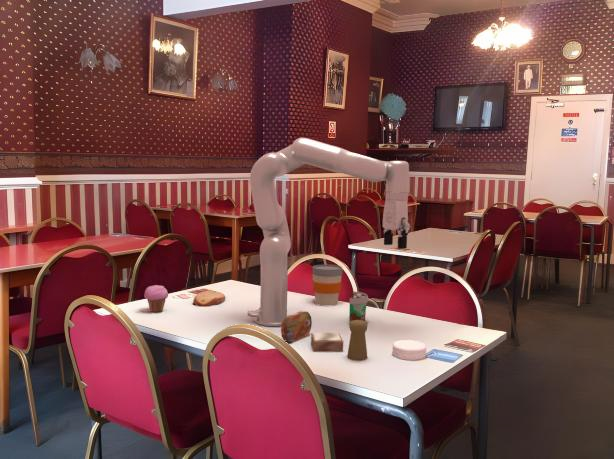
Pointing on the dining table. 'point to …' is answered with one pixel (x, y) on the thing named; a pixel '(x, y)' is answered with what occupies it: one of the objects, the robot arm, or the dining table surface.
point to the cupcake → (156, 297)
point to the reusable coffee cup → (326, 283)
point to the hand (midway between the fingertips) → (394, 246)
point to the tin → (296, 326)
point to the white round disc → (409, 350)
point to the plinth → (326, 342)
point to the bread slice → (209, 298)
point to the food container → (358, 306)
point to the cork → (357, 341)
